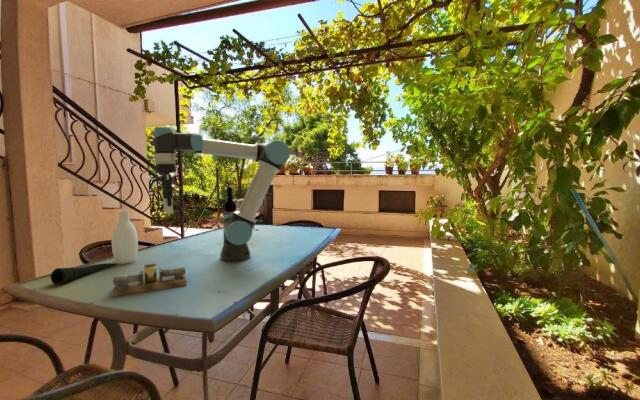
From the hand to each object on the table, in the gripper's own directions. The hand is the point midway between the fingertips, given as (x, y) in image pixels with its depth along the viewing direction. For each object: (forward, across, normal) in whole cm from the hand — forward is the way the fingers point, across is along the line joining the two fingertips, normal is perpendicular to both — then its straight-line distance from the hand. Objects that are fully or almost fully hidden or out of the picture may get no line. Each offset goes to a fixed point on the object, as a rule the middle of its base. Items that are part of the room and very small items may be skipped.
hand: (168, 212), depth 132 cm
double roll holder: (+27, +17, -8) cm, 33 cm away
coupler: (+25, +17, -9) cm, 31 cm away
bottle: (+26, -29, -18) cm, 43 cm away
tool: (+26, -15, -32) cm, 44 cm away
